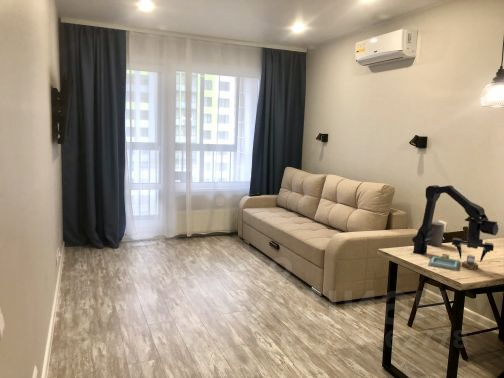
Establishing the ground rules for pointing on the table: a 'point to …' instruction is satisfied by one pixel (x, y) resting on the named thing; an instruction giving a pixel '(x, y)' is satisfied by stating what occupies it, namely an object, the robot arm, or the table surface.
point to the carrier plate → (444, 262)
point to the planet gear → (470, 263)
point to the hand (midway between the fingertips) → (470, 260)
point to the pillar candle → (436, 234)
